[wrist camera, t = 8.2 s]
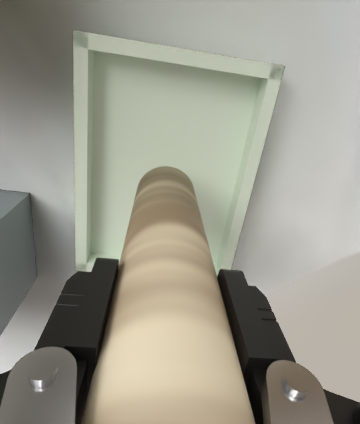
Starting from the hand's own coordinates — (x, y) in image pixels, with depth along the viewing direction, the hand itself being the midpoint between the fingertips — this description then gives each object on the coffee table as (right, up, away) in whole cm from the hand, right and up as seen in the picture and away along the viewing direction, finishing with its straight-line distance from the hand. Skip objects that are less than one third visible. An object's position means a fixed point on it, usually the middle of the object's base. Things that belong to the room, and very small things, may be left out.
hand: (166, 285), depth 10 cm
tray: (-1, +6, +12) cm, 13 cm away
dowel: (0, +4, +8) cm, 9 cm away
